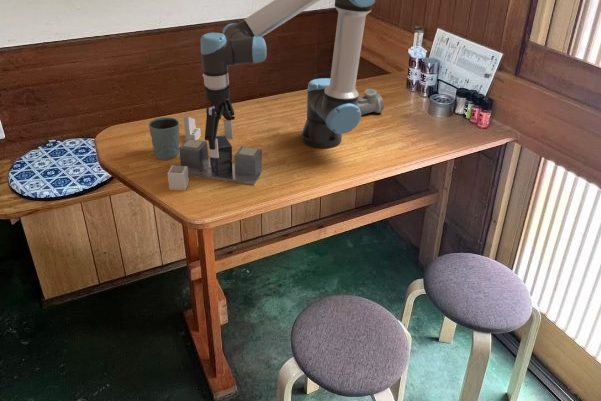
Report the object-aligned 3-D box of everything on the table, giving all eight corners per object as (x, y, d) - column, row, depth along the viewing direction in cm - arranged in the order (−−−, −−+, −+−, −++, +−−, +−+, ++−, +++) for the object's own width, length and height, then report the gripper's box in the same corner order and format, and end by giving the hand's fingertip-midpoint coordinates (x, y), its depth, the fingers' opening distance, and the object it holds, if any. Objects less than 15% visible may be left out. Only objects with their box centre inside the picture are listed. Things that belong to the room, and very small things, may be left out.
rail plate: (263, 170, 188) (263, 145, 183) (254, 185, 180) (253, 159, 175) (191, 160, 193) (189, 135, 188) (179, 174, 185) (176, 148, 179)
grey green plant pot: (146, 157, 194) (142, 126, 187) (162, 145, 202) (159, 114, 195) (172, 163, 191) (168, 131, 184) (187, 150, 199) (184, 119, 192)
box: (210, 165, 188) (208, 137, 182) (226, 163, 190) (224, 134, 184) (216, 176, 182) (214, 147, 176) (233, 173, 184) (231, 144, 178)
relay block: (188, 182, 180) (187, 165, 177) (185, 190, 176) (183, 173, 173) (173, 181, 181) (171, 164, 177) (169, 189, 176) (167, 172, 173)
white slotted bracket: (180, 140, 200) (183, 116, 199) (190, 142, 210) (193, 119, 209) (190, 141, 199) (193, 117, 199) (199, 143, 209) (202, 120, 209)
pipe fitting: (375, 106, 236) (376, 84, 229) (384, 115, 230) (385, 93, 223) (349, 113, 233) (349, 91, 226) (358, 122, 227) (358, 100, 220)
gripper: (219, 70, 181) (224, 129, 192) (188, 100, 160) (196, 164, 172) (241, 72, 179) (245, 132, 191) (213, 102, 159) (219, 167, 170)
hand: (222, 147), depth 181 cm, fingers open, 13 cm apart
